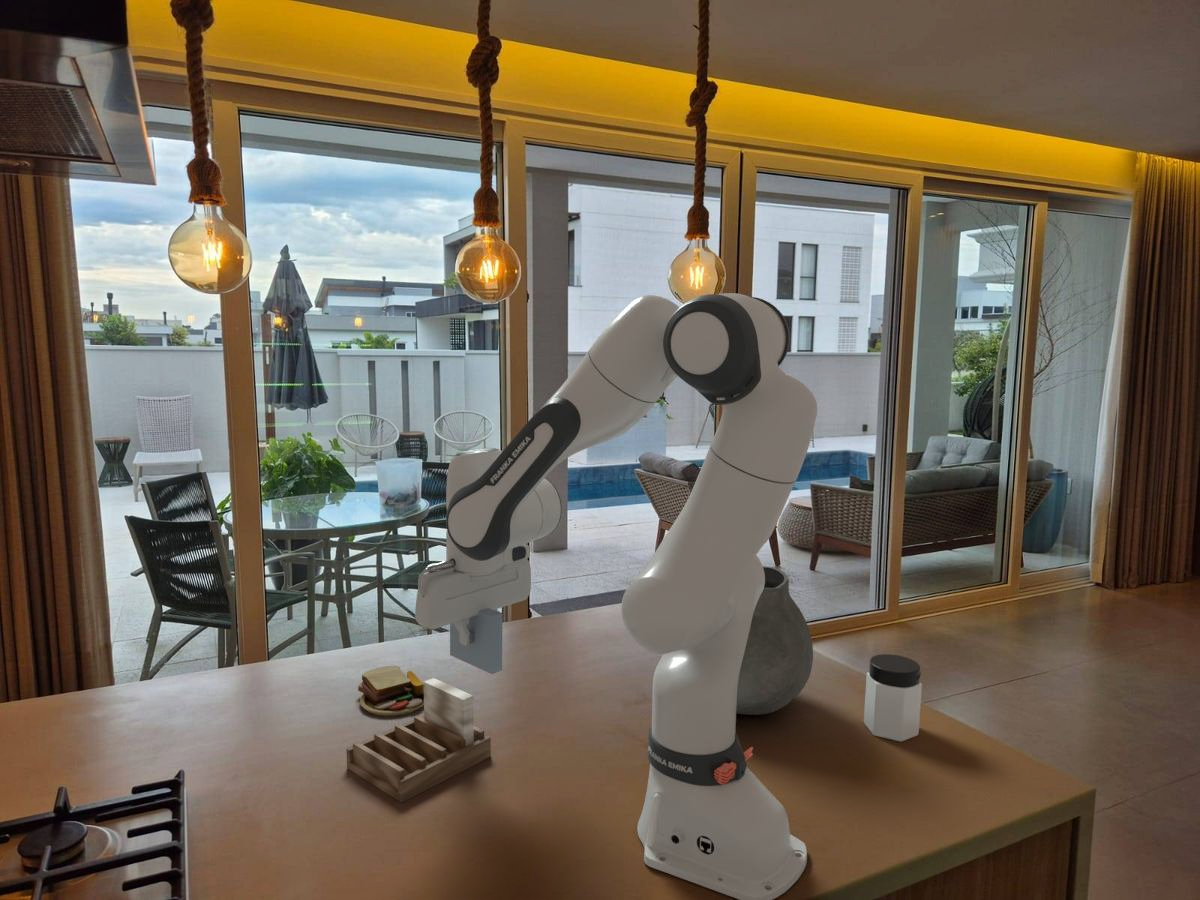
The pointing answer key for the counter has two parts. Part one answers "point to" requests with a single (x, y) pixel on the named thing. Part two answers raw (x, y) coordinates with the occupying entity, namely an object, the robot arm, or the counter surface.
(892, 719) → the jar
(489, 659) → the grey upright panel
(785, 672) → the ceramic pot
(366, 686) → the toy sandwich meal
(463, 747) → the rack
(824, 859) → the counter surface
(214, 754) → the counter surface
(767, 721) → the counter surface
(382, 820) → the counter surface
